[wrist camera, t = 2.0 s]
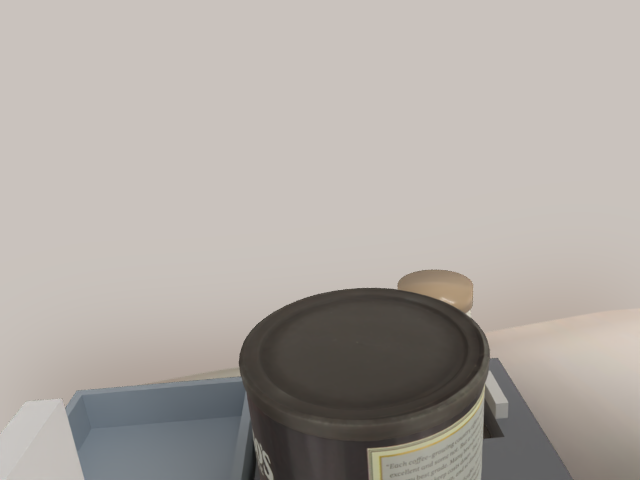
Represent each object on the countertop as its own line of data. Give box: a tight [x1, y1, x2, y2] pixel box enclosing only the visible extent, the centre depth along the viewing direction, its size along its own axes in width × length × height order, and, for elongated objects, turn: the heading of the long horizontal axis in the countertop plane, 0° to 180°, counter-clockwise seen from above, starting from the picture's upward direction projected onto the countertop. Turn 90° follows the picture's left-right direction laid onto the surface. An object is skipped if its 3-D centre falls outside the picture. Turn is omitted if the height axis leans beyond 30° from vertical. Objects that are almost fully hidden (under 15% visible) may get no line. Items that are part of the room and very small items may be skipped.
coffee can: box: [239, 288, 490, 480], centre depth 25 cm, size 10×10×14 cm
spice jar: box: [398, 270, 473, 318], centre depth 35 cm, size 5×5×11 cm
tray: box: [65, 377, 257, 480], centre depth 33 cm, size 13×13×4 cm
